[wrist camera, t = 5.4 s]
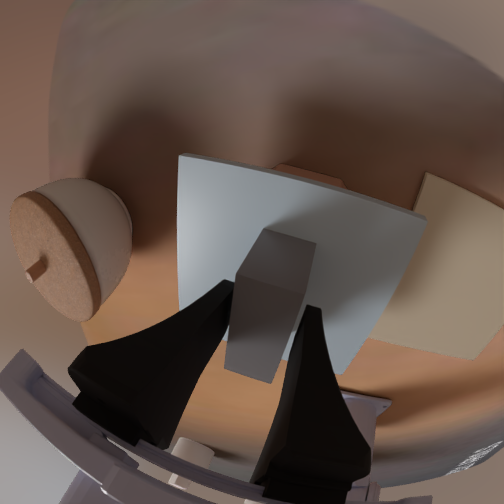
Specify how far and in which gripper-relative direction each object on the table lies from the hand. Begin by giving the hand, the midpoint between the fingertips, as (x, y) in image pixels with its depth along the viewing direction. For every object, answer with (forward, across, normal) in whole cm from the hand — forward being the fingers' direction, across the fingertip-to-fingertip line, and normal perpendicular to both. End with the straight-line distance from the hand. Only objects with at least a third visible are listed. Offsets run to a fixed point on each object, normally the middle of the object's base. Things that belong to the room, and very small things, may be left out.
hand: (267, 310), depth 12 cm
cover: (+2, 0, 0) cm, 3 cm away
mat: (+7, -13, 0) cm, 15 cm away
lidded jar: (+7, +16, +3) cm, 18 cm away
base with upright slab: (+7, +8, +59) cm, 60 cm away
